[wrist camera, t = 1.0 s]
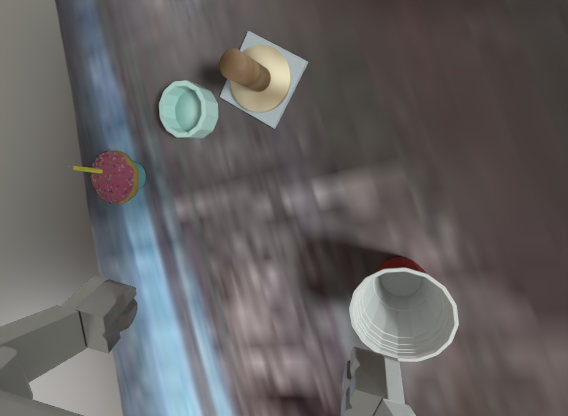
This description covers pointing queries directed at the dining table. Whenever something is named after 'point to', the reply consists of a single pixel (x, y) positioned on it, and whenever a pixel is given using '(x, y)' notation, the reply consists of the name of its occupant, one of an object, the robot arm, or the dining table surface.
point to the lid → (257, 77)
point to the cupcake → (115, 176)
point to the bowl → (188, 110)
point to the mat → (297, 70)
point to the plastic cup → (403, 312)
